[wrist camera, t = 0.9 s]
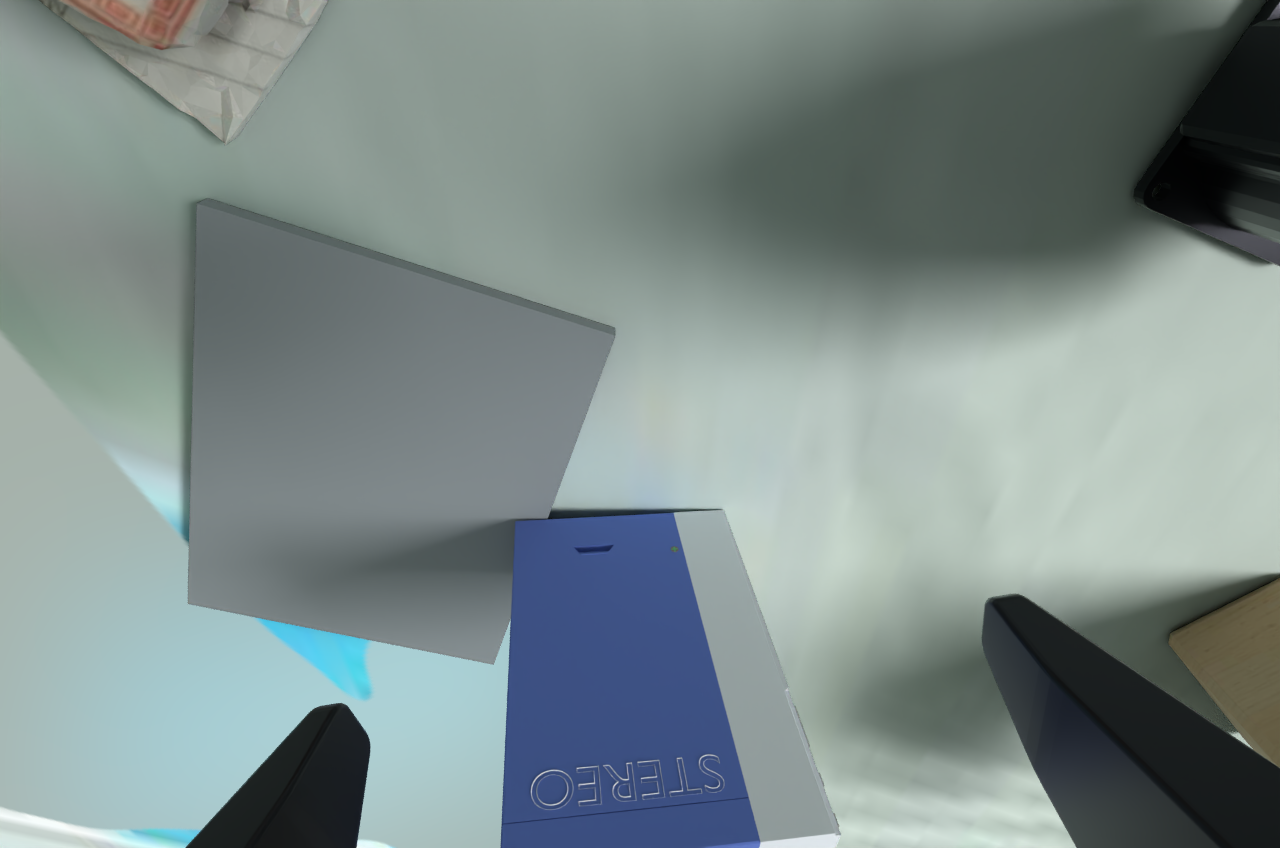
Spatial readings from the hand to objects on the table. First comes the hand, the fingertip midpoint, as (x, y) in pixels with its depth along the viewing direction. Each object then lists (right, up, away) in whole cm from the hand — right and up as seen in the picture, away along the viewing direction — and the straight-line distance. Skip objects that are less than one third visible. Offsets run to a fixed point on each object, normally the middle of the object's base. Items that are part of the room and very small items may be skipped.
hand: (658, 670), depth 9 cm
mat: (-9, +2, +14) cm, 17 cm away
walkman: (-1, -1, +16) cm, 16 cm away
